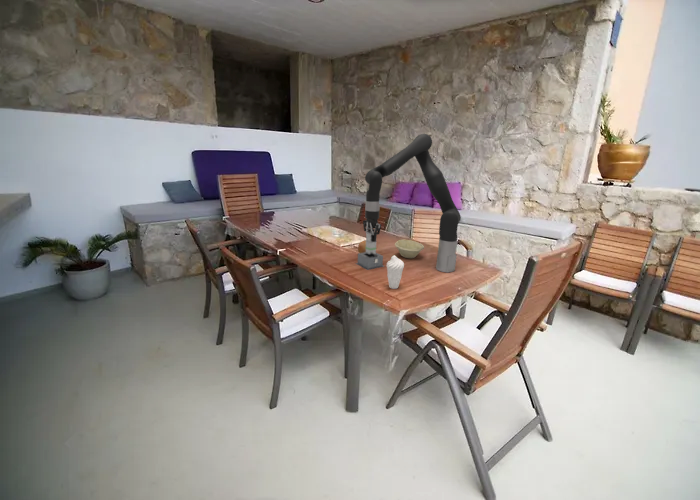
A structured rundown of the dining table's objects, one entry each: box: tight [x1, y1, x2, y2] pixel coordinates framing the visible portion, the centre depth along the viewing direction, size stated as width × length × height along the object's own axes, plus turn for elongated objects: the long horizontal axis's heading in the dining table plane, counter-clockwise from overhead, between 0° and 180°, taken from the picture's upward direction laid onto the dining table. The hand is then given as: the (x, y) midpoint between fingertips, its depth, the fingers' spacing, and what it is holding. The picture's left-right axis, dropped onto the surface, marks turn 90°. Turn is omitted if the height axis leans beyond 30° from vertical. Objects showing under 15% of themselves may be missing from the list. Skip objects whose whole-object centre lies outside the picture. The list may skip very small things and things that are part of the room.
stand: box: [355, 252, 385, 271], centre depth 178 cm, size 12×12×8 cm
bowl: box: [394, 238, 425, 259], centre depth 196 cm, size 14×18×15 cm
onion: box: [357, 239, 366, 253], centre depth 196 cm, size 10×10×10 cm
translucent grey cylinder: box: [365, 231, 378, 255], centre depth 175 cm, size 5×5×12 cm
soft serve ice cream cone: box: [386, 255, 405, 290], centre depth 150 cm, size 8×8×16 cm
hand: (371, 240), depth 174 cm, fingers closed on translucent grey cylinder, 4 cm apart
